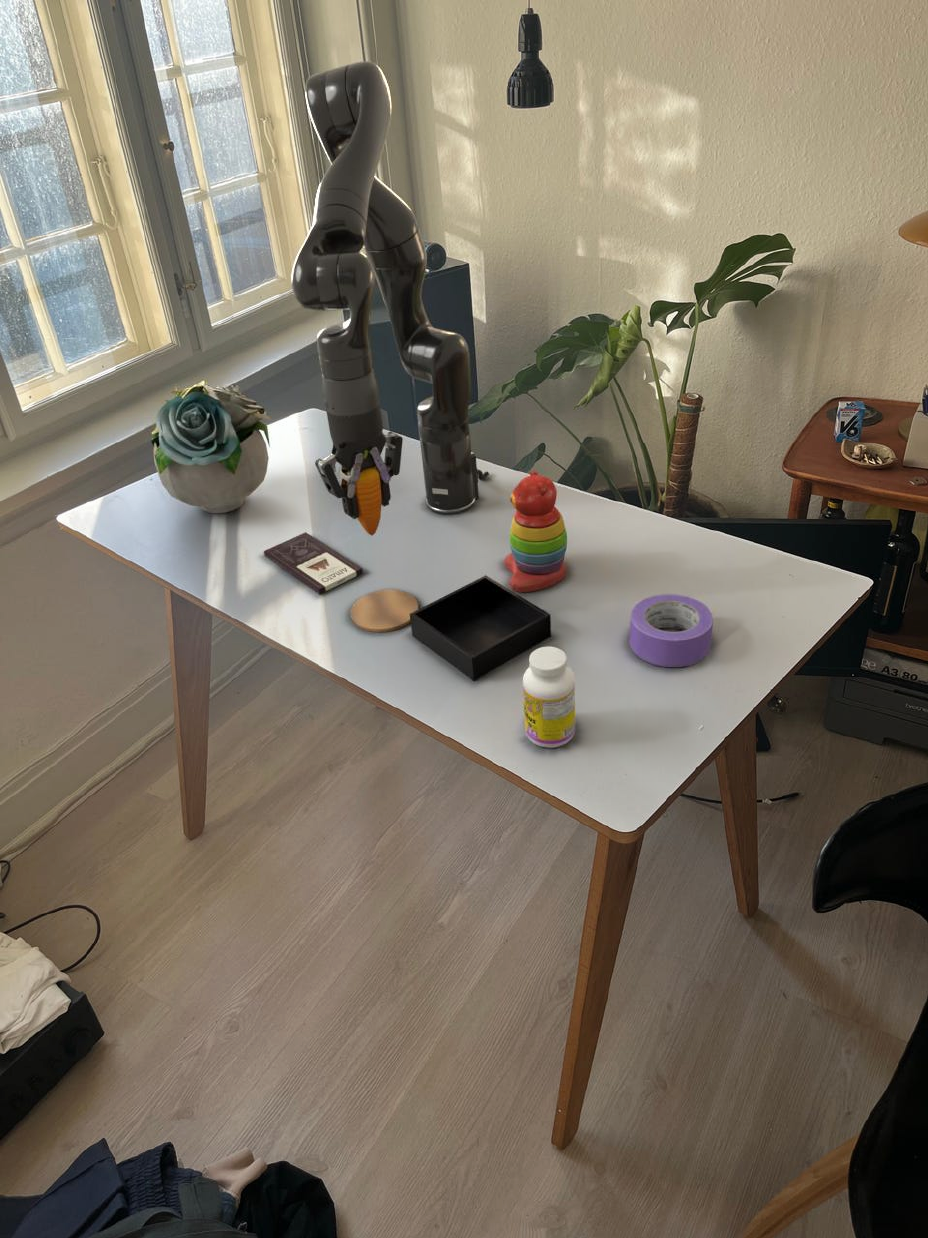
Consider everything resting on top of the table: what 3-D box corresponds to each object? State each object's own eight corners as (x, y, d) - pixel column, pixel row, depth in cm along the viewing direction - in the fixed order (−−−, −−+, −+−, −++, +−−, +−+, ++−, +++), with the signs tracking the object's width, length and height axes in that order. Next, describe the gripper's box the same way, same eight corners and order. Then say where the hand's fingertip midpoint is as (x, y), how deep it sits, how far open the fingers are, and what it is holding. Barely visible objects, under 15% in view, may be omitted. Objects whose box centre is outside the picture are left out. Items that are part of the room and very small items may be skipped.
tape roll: (646, 612, 142) (648, 585, 139) (721, 631, 137) (724, 604, 134) (617, 655, 134) (618, 627, 131) (694, 677, 129) (697, 648, 126)
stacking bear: (503, 559, 158) (497, 466, 147) (560, 552, 158) (559, 459, 148) (511, 594, 149) (506, 497, 139) (573, 587, 149) (572, 490, 139)
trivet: (393, 584, 154) (392, 582, 154) (432, 612, 147) (432, 608, 146) (337, 611, 149) (337, 608, 148) (375, 641, 142) (375, 638, 141)
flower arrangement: (311, 488, 185) (289, 372, 171) (223, 547, 168) (190, 423, 154) (223, 466, 197) (195, 355, 182) (133, 519, 180) (94, 401, 166)
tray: (487, 596, 149) (485, 574, 147) (551, 636, 139) (550, 614, 137) (412, 635, 142) (409, 613, 139) (473, 681, 132) (471, 658, 129)
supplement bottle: (522, 719, 125) (518, 644, 117) (570, 713, 125) (569, 638, 117) (529, 753, 119) (525, 677, 112) (579, 747, 119) (579, 671, 112)
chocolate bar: (305, 532, 169) (362, 568, 157) (306, 536, 169) (362, 572, 158) (263, 551, 164) (318, 589, 152) (264, 555, 165) (319, 594, 153)
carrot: (363, 546, 137) (349, 454, 128) (351, 532, 140) (336, 442, 132) (393, 537, 138) (381, 446, 130) (380, 523, 142) (368, 433, 133)
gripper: (322, 426, 121) (341, 537, 131) (409, 394, 128) (421, 502, 138) (294, 410, 126) (314, 518, 136) (379, 381, 133) (393, 485, 143)
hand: (368, 509), depth 137 cm, fingers closed on carrot, 4 cm apart
